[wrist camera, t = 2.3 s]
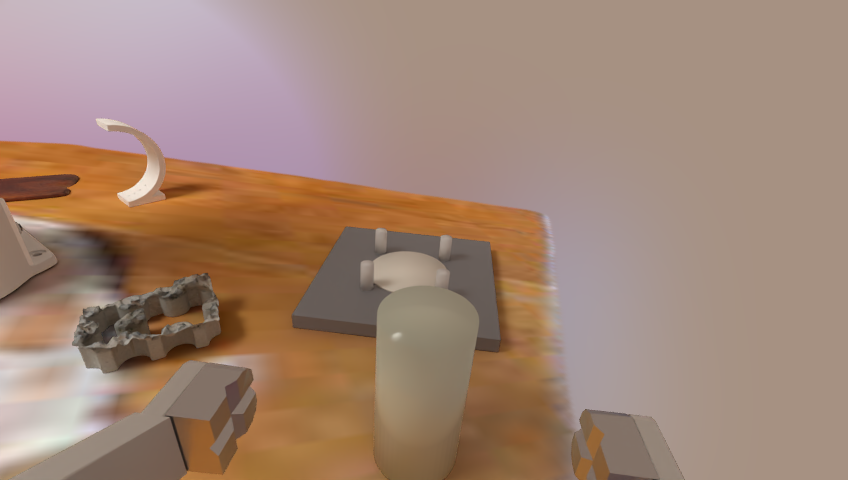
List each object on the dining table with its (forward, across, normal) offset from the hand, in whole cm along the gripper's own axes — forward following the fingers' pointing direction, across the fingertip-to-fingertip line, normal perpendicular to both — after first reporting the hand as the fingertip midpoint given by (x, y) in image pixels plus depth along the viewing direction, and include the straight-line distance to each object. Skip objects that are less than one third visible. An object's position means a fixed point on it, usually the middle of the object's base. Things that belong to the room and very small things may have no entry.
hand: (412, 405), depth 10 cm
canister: (+12, 0, +19) cm, 22 cm away
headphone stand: (+49, +47, +18) cm, 70 cm away
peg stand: (+33, +4, +18) cm, 38 cm away
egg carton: (+20, +25, +19) cm, 37 cm away
